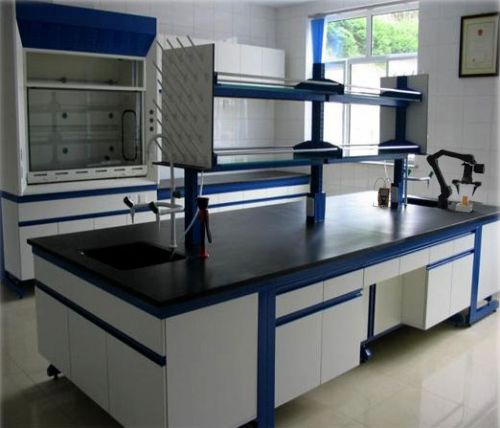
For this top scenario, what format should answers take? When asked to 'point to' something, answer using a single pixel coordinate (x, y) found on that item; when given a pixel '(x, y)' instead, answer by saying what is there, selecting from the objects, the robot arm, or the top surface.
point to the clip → (474, 202)
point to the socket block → (464, 208)
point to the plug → (464, 201)
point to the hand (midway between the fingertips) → (465, 195)
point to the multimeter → (383, 195)
